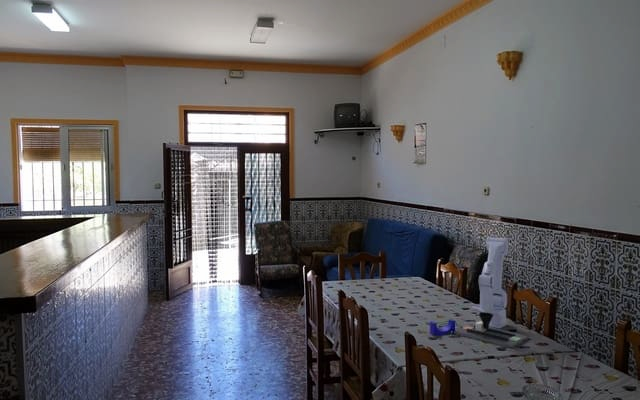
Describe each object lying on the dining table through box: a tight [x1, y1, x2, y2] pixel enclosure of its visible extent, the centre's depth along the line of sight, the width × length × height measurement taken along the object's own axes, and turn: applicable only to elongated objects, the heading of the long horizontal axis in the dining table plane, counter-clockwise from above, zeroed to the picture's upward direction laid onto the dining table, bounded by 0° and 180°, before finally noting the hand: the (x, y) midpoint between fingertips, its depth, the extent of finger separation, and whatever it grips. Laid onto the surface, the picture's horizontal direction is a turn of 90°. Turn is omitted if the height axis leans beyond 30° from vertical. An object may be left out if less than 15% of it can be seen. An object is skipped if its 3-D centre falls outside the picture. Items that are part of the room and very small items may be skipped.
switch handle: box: [474, 320, 486, 332], centre depth 236 cm, size 5×3×4 cm, turn 136°
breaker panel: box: [454, 323, 529, 349], centre depth 233 cm, size 16×28×2 cm, turn 46°
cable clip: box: [429, 318, 456, 337], centre depth 239 cm, size 12×4×6 cm, turn 109°
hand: (486, 328), depth 234 cm, fingers closed
